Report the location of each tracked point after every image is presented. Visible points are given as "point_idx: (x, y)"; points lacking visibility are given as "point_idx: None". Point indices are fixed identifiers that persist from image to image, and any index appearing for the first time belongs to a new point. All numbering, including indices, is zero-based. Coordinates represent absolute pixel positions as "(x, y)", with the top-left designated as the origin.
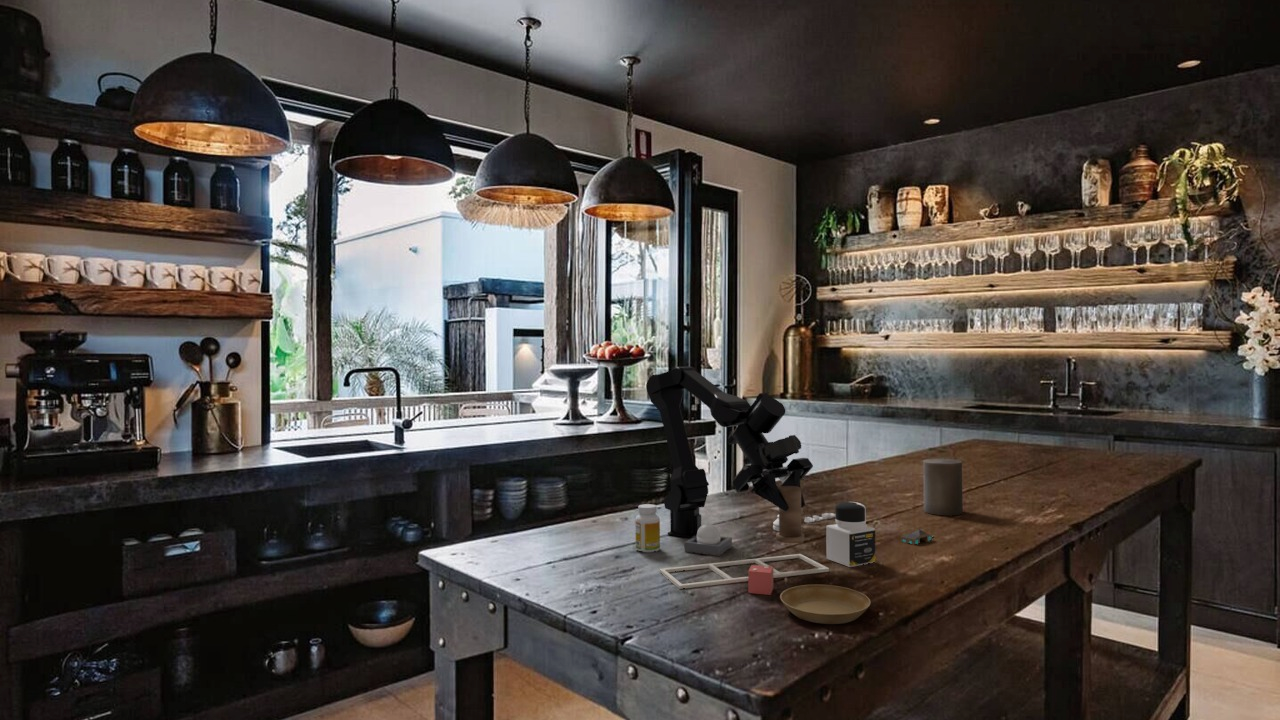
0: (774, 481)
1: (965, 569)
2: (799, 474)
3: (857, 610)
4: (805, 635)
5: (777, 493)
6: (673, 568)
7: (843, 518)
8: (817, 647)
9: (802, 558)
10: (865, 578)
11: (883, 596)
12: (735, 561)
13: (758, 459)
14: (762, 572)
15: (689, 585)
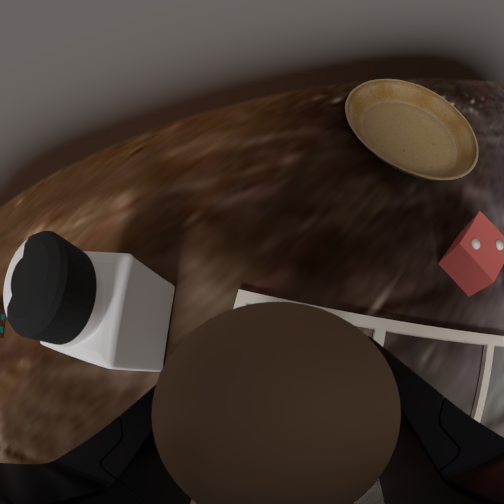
0: (481, 483)
1: (68, 182)
2: (9, 470)
3: (365, 113)
4: (462, 111)
5: (443, 398)
6: None
7: (89, 280)
8: (459, 92)
9: None
10: (214, 213)
11: (275, 135)
12: None
13: None
14: (491, 223)
15: None
